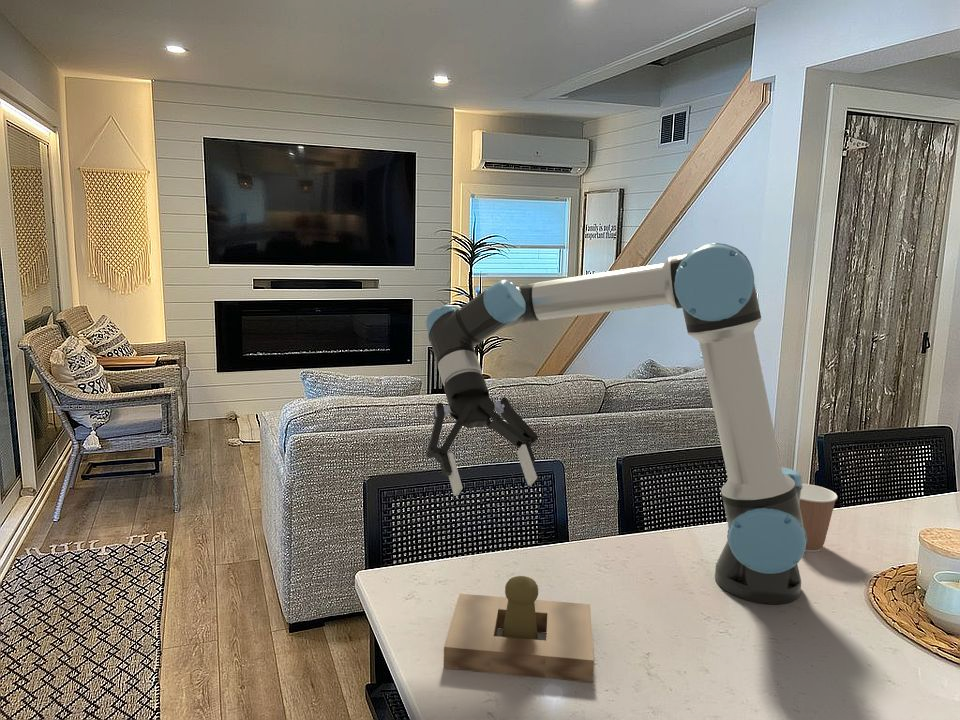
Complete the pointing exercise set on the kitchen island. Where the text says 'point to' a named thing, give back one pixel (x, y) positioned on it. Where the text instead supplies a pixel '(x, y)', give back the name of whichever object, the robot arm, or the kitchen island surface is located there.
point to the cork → (521, 608)
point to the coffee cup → (816, 514)
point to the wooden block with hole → (521, 640)
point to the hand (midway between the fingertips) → (496, 487)
